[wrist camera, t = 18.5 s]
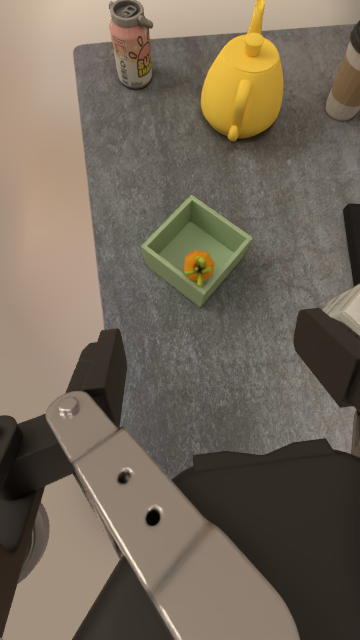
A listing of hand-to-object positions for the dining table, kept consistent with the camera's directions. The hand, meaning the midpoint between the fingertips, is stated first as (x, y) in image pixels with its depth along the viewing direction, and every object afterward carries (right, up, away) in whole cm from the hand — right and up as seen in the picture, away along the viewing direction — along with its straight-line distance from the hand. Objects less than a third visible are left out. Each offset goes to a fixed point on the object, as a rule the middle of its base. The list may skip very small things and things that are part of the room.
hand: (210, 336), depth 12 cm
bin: (+1, +12, +39) cm, 41 cm away
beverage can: (-12, +60, +52) cm, 80 cm away
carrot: (+1, +12, +38) cm, 40 cm away
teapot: (+12, +50, +50) cm, 71 cm away
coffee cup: (+36, +50, +50) cm, 80 cm away
